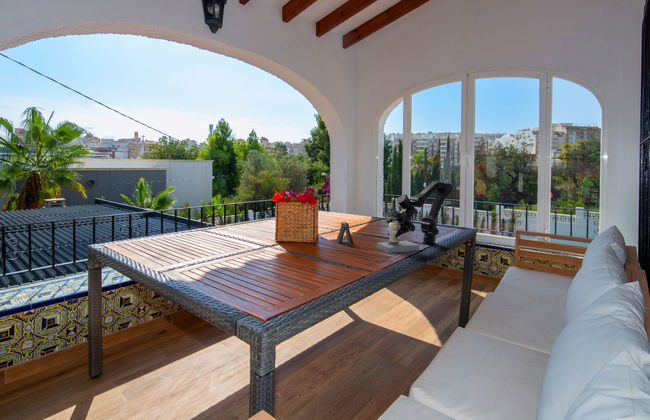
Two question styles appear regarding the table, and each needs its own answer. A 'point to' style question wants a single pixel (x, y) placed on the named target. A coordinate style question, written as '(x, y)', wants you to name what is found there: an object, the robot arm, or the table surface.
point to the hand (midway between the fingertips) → (391, 235)
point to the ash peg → (393, 233)
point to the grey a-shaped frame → (341, 233)
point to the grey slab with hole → (398, 246)
